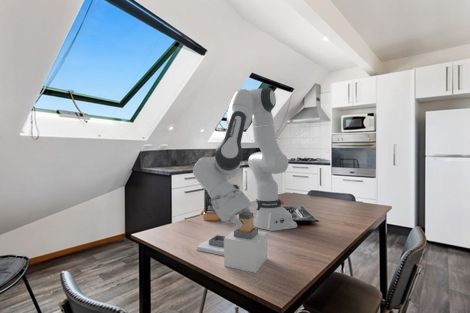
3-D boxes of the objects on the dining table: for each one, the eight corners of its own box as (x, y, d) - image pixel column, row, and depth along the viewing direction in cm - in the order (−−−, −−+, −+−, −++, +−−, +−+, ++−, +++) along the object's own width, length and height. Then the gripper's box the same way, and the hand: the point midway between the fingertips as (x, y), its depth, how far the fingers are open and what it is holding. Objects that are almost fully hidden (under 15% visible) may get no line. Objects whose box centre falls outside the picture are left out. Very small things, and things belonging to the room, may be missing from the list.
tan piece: (243, 232, 96) (243, 211, 95) (253, 234, 94) (253, 212, 94) (238, 236, 92) (238, 214, 92) (249, 237, 90) (249, 215, 90)
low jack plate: (213, 238, 117) (213, 231, 117) (241, 243, 111) (241, 235, 111) (196, 250, 105) (196, 241, 104) (227, 256, 99) (226, 247, 98)
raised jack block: (238, 253, 101) (238, 223, 101) (267, 258, 96) (267, 227, 96) (224, 265, 91) (223, 232, 90) (255, 272, 85) (255, 237, 85)
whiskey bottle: (224, 216, 154) (223, 163, 153) (220, 221, 145) (219, 164, 143) (207, 215, 156) (206, 163, 155) (202, 220, 147) (202, 164, 145)
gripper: (214, 193, 86) (241, 225, 82) (239, 184, 104) (262, 210, 101) (203, 205, 88) (229, 237, 84) (230, 194, 107) (252, 220, 103)
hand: (247, 222), depth 93 cm, fingers open, 8 cm apart
